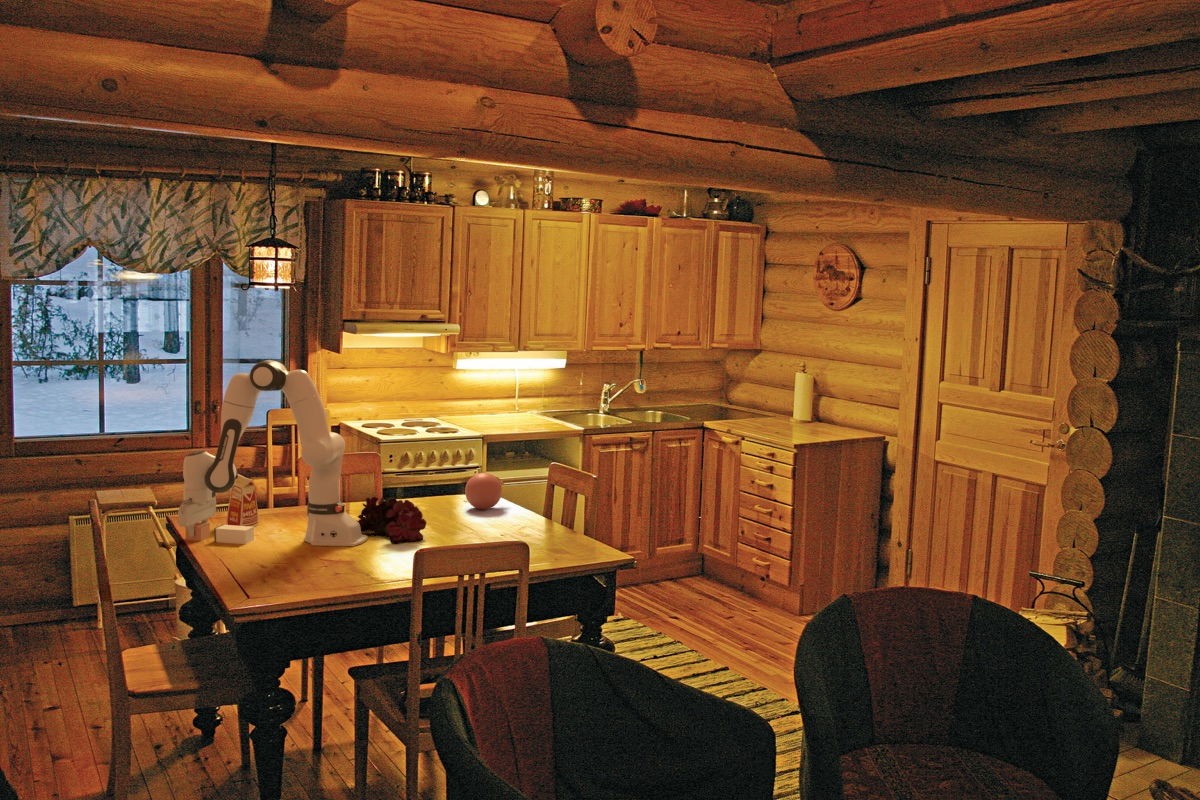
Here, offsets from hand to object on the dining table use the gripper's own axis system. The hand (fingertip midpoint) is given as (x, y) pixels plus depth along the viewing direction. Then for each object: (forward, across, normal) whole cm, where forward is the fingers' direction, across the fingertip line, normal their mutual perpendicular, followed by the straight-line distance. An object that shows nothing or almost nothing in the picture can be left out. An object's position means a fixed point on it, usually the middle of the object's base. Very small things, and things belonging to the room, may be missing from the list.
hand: (197, 533), depth 385 cm
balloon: (+3, +80, -86) cm, 118 cm away
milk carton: (+3, +24, -5) cm, 25 cm away
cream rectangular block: (+2, 0, -14) cm, 14 cm away
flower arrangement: (+3, +25, -65) cm, 70 cm away
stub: (+2, 0, 0) cm, 2 cm away
